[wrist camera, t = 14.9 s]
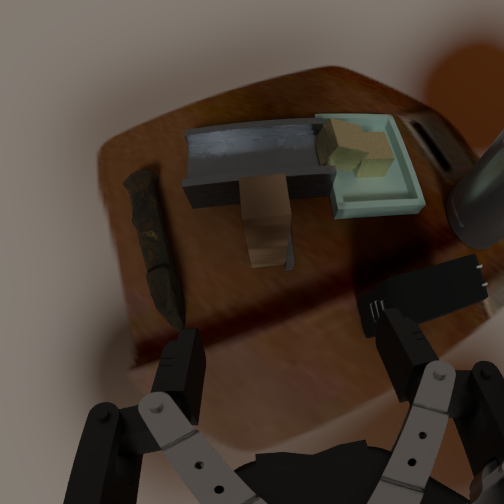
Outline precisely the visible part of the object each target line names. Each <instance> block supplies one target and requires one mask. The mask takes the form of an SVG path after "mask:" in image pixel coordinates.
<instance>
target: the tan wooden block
mask: <svg viewBox="0 0 504 504" xmlns="http://www.w3.org/2000/svg"><path fill="white" fill-rule="evenodd" d="M239 187H240V200H241V214H242V222H243V227H244V232H245V236H246V241H247V246H248V251H249V256H250V260H251V265H252V268H254V267H264V266H275V265H285V269H286V270H293V268H294V264H295V261H294V253H293V246H292V238H291V231H290V222H291V208H290V201H289V195H288V188H287V182H286V176H285V173H284V174H272V175H261V176H251V177H241V178H239Z"/></svg>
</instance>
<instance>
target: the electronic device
mask: <svg viewBox="0 0 504 504" xmlns="http://www.w3.org/2000/svg"><path fill="white" fill-rule="evenodd" d="M478 265H479V263H478V259H477V256H476V254H472V255H468V256H465V257H461V258H458V259H454V260H451V261H447V262H444V263H440V264H437V265H433V266H430V267H426V268H422V269H418V270H415V271H411V272H407V273H403V274H400V275H396V276H393V277H390V278H388V279H386V280H385V281H383V282H382V283H380V284H379V285H378V286H376V287H375V288H374V289H372V290H371V291H370V292H368V293H367V294H366V295H364V296H363V297H361V298H360V299H359V300H357V302H358V306H359V310H360V314H361V318H362V322H363V327H364V331H365V335H366V338H372V337H376V332H377V326H378V321H379V314H380V311H381V310H386V309H392V308H398V309H399V311H400V312H401V314H402V316H403V317H404V318H405V317H409V318H410V319H412V320H413V321H414V322H416V323H417V324H421V323H424V322H427V321H429V320H432V319H435V318H438V317H441V316H444V315H446V314H449V313H452V312H454V311H457V310H460V309H462V308H465V307H467V306H470V305H472V304H475V303H477V302H480V301H482V300H485V299H486V298H487V297H488V293H487V289H486V286H485V285H487V284H488V283H487V282H486V283H484V279H483V275H482V272H481V269H480V268H481V267H482V265H479V266H478ZM482 283H484V284H482ZM483 286H484V287H483Z"/></svg>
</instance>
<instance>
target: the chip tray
mask: <svg viewBox="0 0 504 504" xmlns="http://www.w3.org/2000/svg"><path fill="white" fill-rule="evenodd" d="M315 118H322V119H323V123H324V125H325V124H326V123H327V121H328V120H329V118H333V119H337V120H341V121H345V122H349V123H353V124H356V125H360V128H361V130H362V132H385V134H386V137H387V139H388V142H389V145H390V147H391V150H392V152H393V155H394V158H395V159H394V161H393V163H392V165H391V166H390V168H389V170H388V172H387V174H386V176H385V177H369V178H355V175H354V172H353V170H352V171H351V172H347V171H341V170H336V171H337V174H336V178H335V181H334V184H333V187H332V190H331V193H330V201H331V206H332V211H333V216H334V219H346V218H360V217H374V216H389V215H405V214H418V213H419V212H420V210H421V209H422V208H423V207H424V206H425V205H426V204H425V201H424V197H423V194H422V191H421V188H420V185H419V182H418V179H417V177H416V174H415V171H414V168H413V165H412V163H411V160H410V157H409V155H408V152H407V150H406V147H405V145H404V142H403V140H402V137H401V135H400V133H399V130H398V128H397V125H396V123H395V121H394V119H393V116H392V115H383V114H315ZM324 125H323V127H324Z"/></svg>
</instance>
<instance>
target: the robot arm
mask: <svg viewBox="0 0 504 504" xmlns="http://www.w3.org/2000/svg"><path fill="white" fill-rule="evenodd" d="M446 211H447V216H448V220H449V222H450V225H451V227H452V229H453V231H454V232H455V234H456V235H457V236H458V238H459V239H460V240H461V241H462V242H463V243H465V244H466V245H468V246H469V247H471V248H474V249H478V250H483V249H487V248H489V247H490V246H492V245H494V244H495V243H497V242H498V241H500V240H501V239H503V238H504V129H503V131H502V132H501V133H500V135H499V136H498V137H497V138H496V140H495V141H494V142H493V143H492V145H491V146H490V147H489V148H488V150H487V151H486V152H485V153H484V155H483V156H482V157H481V158H480V159H479V160H478V162H477V163H476V164H475V165H474V166H473V168H472V169H471V170H470V171H469V172H468V173H467V175H466V176H465V177H464V178H463V179H462V180H461V181H460V182H459V184H458V185H457V186H456V187H455V188H454V189H453V190H452V192H451V193H450V194H449V196H448V198H447V203H446ZM376 347H377V350H378V352H379V354H380V357H381V359H382V361H383V363H384V366H385V368H386V370H387V373H388V375H389V377H390V380H391V382H392V385H393V387H394V389H395V392H396V394H397V397H398V399H399V401H400V402H405V401H409V403H410V407H409V409H408V412H407V414H406V417H405V419H404V421H403V424H402V426H401V429H400V431H399V433H398V435H397V438H396V440H395V442H394V444H393V446H392V448H391V450H390V451H388V450H385V449H382V448H378V447H369V446H367V443H366V440H362V441H356V442H351V443H346V444H341V445H338V446H335V447H332V448H330V449H328V450H325V451H322V452H320V453H317V454H314V455H306V454H296V453H288V452H278V453H265V454H256V461H253V462H250V463H247V464H245V465H242V466H241V467H239V468H237V469H235V470H234V471H233V470H232V469H231V468H230V466H229V465H228V464H227V463H226V462H225V461H224V460H223V459H222V457H221V456H220V455H219V454H218V453H217V452H216V451H215V449H214V448H212V446H211V445H210V443H209V442H208V441H207V440H206V439H205V437H204V436H203V435H202V434H201V433H200V432H199V431H198V430H195V429H194V427H193V426H192V425H198V421H199V414H200V406H201V398H202V391H203V384H204V377H205V369H206V356H205V351H204V347H203V344H202V340H201V336H200V332H199V330H198V328H193V329H181V330H180V333H179V336H178V340H177V341H170V342H169V343H168V344H167V345H166V346H165V348H164V349H163V352H162V355H161V359H160V362H159V367H158V369H157V372H156V376H155V379H154V383H153V386H152V390H151V393H150V394H148V395H146V396H145V397H143V398H142V399H141V401H140V403H139V405H136V406H132V407H128V408H123V409H118V408H117V407H116V405H114V404H112V403H109V402H104V403H100V404H97V405H95V406H94V407H93V408H92V409H91V410H90V412H89V414H88V417H87V420H86V423H85V426H84V430H83V433H82V436H81V439H80V442H79V446H78V449H77V453H76V456H75V460H74V463H73V467H72V471H71V474H70V478H69V482H68V486H67V490H66V494H65V499H64V503H63V504H136V502H137V494H138V487H139V479H140V472H141V465H142V458H143V454H144V453H150V452H155V451H160V450H162V451H163V452H164V454H165V456H166V457H167V458H168V460H169V462H170V463H171V464H172V466H173V467H174V469H175V470H176V472H177V473H178V475H179V476H180V477H181V479H182V480H183V481H184V483H185V484H186V485H187V487H188V488H189V490H190V491H191V492H192V494H193V495H194V496H195V497H196V499H197V500H198V501H199V502H200V504H504V378H503V376H502V374H501V373H500V371H499V370H498V368H497V367H496V366H495V365H494V364H493V363H491V362H488V361H480V362H477V363H476V364H475V365H474V367H473V369H472V370H454V368H453V367H452V366H451V365H450V364H449V363H447V362H444V361H440V360H439V359H438V357H437V355H436V354H435V352H434V350H433V349H432V347H431V345H430V344H429V342H428V340H427V339H426V338H425V336H424V334H423V332H422V331H421V329H420V328H419V326H418V324H417V323H416V322H414V321H413V320H412V319H410V318H409V317H405V318H404V317H403V316H402V314H401V312H400V311H399V309H398V308H392V309H386V310H381V311H380V314H379V321H378V326H377V332H376ZM448 418H453V420H454V422H455V425H456V428H457V430H458V433H459V435H460V438H461V441H462V443H463V446H464V449H465V452H466V455H467V458H468V460H469V463H470V466H471V469H472V472H473V476H474V478H473V479H472V481H471V483H470V487H469V490H470V491H469V492H470V493H469V498H470V499H469V500H468V499H467V498H465V497H464V496H462V495H460V494H459V493H456V492H455V491H453V490H452V489H450V488H448V487H447V486H445V485H443V484H442V483H440V482H438V481H436V480H435V479H433V478H432V477H430V476H429V475H430V473H431V470H432V467H433V464H434V462H435V459H436V456H437V453H438V450H439V447H440V444H441V441H442V438H443V435H444V431H445V428H446V425H447V421H448Z"/></svg>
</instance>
